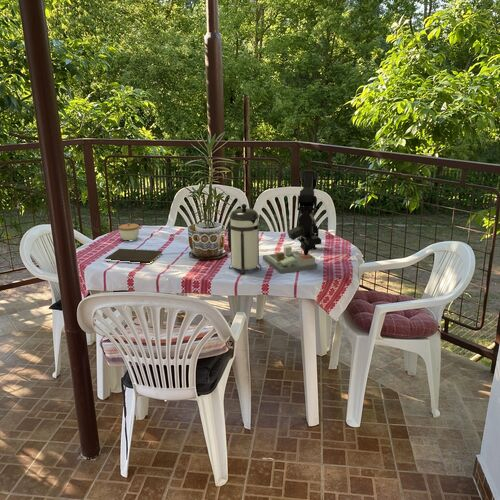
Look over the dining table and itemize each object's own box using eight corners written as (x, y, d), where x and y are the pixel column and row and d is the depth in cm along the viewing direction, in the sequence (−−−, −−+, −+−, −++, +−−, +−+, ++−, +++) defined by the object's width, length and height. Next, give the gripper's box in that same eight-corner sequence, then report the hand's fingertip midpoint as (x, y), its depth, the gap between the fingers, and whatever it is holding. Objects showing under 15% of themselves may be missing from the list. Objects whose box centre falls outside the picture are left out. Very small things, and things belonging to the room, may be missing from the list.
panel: (297, 255, 252) (297, 245, 250) (317, 268, 233) (317, 257, 232) (262, 259, 246) (262, 249, 245) (280, 273, 227) (280, 262, 226)
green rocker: (292, 258, 233) (291, 256, 232) (295, 260, 230) (295, 258, 229) (280, 263, 231) (279, 261, 231) (283, 265, 228) (282, 263, 228)
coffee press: (265, 263, 240) (264, 200, 231) (257, 275, 225) (257, 208, 216) (229, 261, 244) (227, 199, 235) (219, 273, 229) (217, 206, 220)
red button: (307, 260, 237) (307, 252, 236) (311, 262, 233) (311, 255, 232) (299, 261, 235) (299, 253, 234) (303, 263, 232) (303, 256, 231)
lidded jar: (137, 242, 276) (136, 225, 274) (117, 242, 277) (116, 225, 274) (141, 237, 287) (140, 220, 284) (122, 237, 287) (121, 220, 284)
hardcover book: (119, 252, 261) (119, 248, 261) (162, 255, 257) (162, 250, 256) (105, 263, 246) (104, 258, 246) (150, 265, 242) (150, 261, 241)
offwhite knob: (289, 253, 247) (289, 245, 246) (291, 255, 245) (291, 247, 244) (283, 254, 246) (283, 246, 245) (285, 256, 244) (285, 247, 243)
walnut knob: (282, 260, 238) (282, 252, 237) (284, 262, 236) (284, 253, 235) (276, 261, 237) (276, 252, 236) (278, 262, 235) (278, 254, 234)
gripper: (281, 218, 234) (281, 251, 239) (298, 228, 218) (298, 263, 222) (303, 215, 238) (303, 248, 243) (322, 225, 221) (321, 260, 226)
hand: (305, 254), depth 233 cm, fingers closed, pressing on red button
